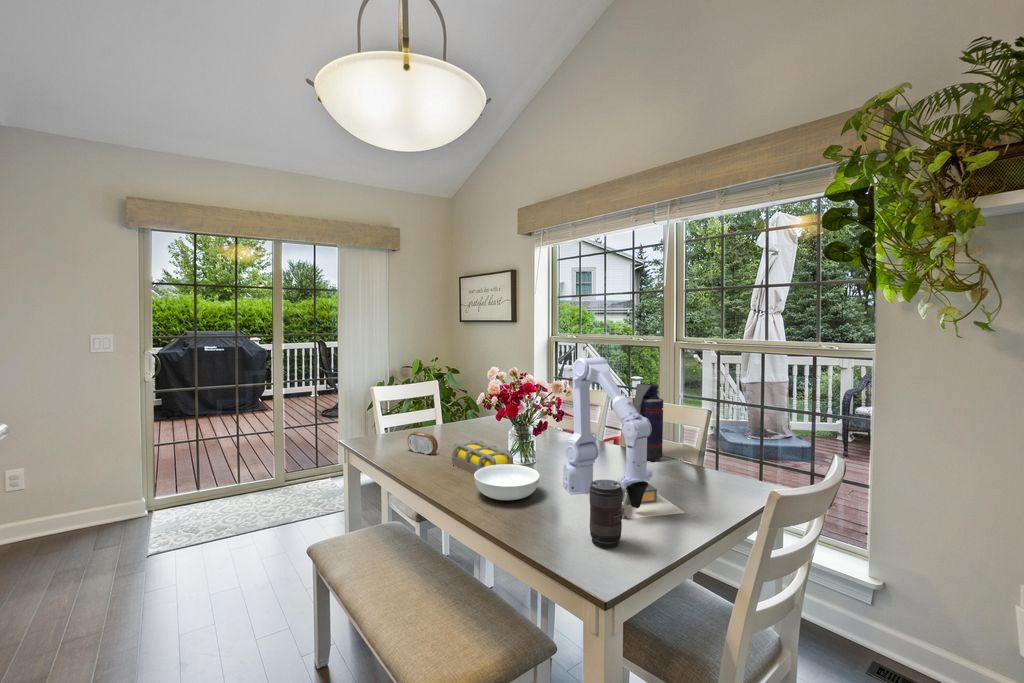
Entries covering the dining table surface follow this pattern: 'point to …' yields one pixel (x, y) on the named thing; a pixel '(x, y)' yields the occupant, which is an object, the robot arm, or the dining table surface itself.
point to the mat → (653, 509)
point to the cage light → (478, 456)
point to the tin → (422, 442)
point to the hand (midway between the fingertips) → (635, 506)
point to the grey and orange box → (648, 496)
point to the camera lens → (605, 513)
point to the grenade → (651, 417)
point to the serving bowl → (506, 481)
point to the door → (624, 505)
